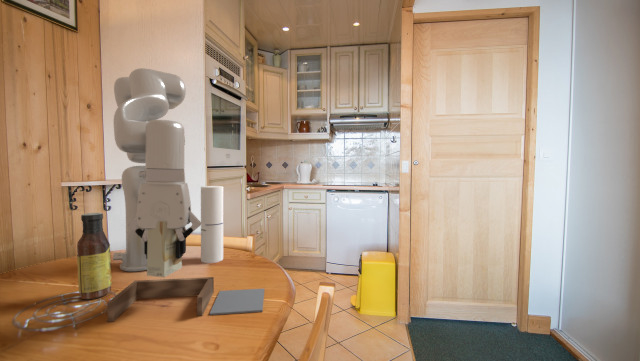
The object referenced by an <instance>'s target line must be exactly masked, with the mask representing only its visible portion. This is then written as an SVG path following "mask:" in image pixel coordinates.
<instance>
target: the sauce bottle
mask: <svg viewBox="0 0 640 361" xmlns="http://www.w3.org/2000/svg"><path fill="white" fill-rule="evenodd" d="M80 219H81V222H82V235H81V237H80V238H79V239H78V241H77V245H76V249H77V250H76V251H77V255H76V258H77V259H76V261H77V262H76V263H77V279H78V280H77V282H78V283H77V284H78V293H79V297H80V299H82V300H94V299H95V300H96V299H99V298H101V297H104V296H106V295H109V293H111V291H112V284H113V281H112V264H111V261H112V260H111V244H110V242H109V240H108V238H107V236H106V234H105V232H104V228H103V227H104V226H103V219H104V214H103V212H89V213H83V214H81V216H80Z"/></svg>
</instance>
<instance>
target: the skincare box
mask: <svg viewBox="0 0 640 361" xmlns="http://www.w3.org/2000/svg"><path fill="white" fill-rule="evenodd" d="M176 241H178V236H177V233H176V231H175V229H167V222H166V221H160V222H158V221H157V224H156V228H155V229H148V242H147V270H146V276H147V277H148V276H149V277H155V278H156V277H157V278H158V277H159V278H166V277H167V276H170V275H171V274H173V273H175V272H177V271H178V270H181V269H182V268H183V256H182V257H181V258H180V259H177V258H176Z"/></svg>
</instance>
